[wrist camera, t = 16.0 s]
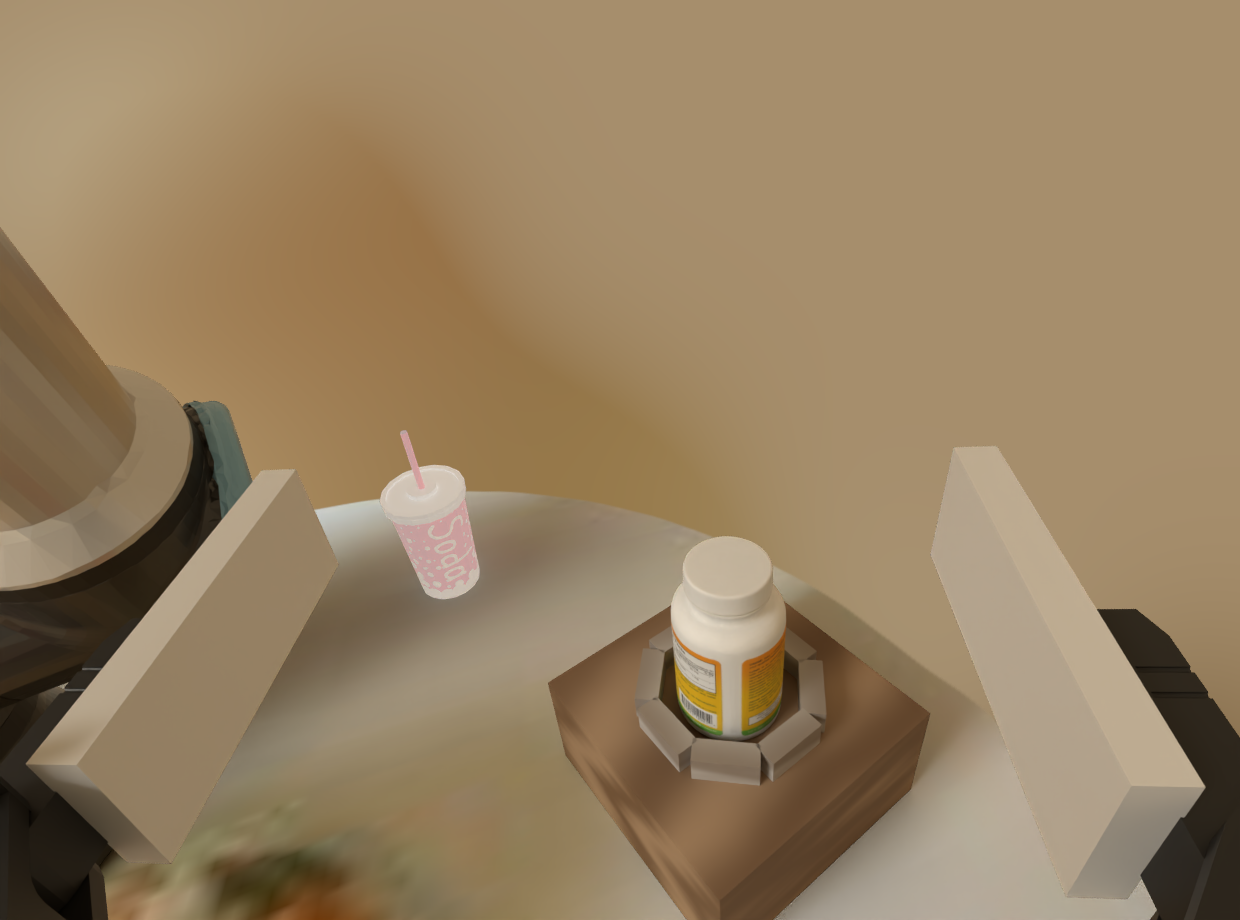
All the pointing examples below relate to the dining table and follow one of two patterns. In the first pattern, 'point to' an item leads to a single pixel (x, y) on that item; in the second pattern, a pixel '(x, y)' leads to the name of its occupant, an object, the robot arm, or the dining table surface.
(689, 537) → the dining table surface
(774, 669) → the supplement bottle
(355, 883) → the dining table surface
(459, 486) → the beverage cup
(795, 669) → the carrier block
